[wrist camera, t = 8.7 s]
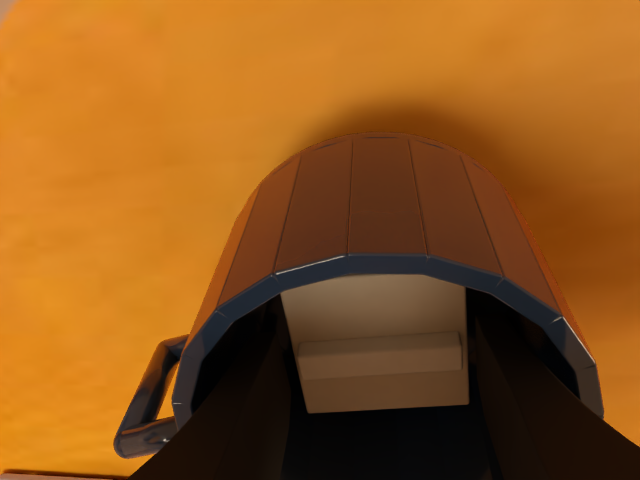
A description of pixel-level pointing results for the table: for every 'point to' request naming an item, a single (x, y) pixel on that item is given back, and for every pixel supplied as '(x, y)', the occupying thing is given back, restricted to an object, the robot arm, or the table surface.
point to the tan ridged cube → (379, 342)
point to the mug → (368, 258)
